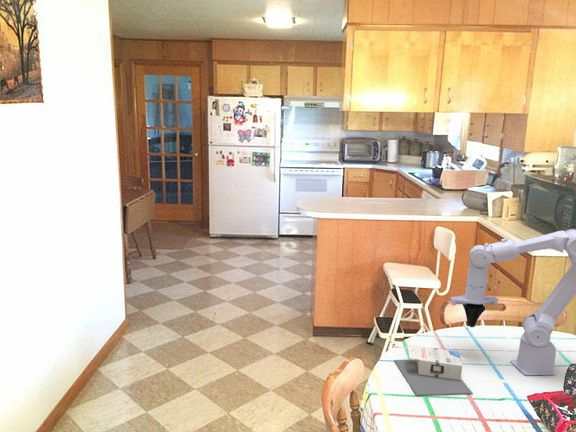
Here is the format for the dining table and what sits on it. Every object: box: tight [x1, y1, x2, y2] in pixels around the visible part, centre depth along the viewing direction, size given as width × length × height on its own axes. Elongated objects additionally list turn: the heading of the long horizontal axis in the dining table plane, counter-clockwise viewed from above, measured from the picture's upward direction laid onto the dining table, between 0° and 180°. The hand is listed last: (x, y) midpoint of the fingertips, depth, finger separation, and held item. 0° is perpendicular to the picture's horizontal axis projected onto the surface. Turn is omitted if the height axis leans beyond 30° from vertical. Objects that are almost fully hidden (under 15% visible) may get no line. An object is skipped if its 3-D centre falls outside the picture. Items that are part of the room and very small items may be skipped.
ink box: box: [407, 345, 463, 380], centre depth 137 cm, size 9×5×15 cm
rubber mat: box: [393, 359, 474, 397], centre depth 134 cm, size 16×18×1 cm
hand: (470, 325), depth 144 cm, fingers closed
